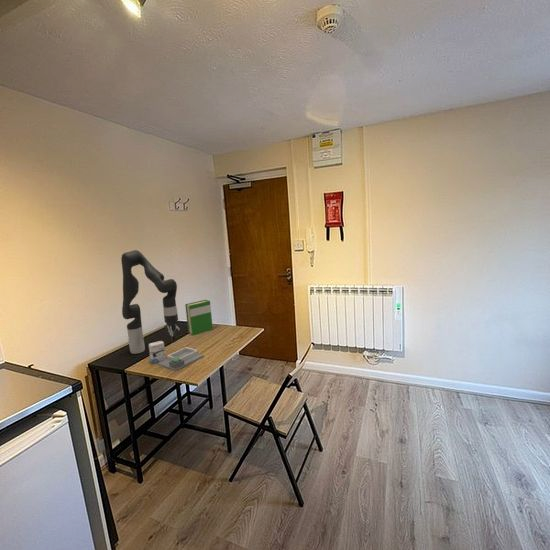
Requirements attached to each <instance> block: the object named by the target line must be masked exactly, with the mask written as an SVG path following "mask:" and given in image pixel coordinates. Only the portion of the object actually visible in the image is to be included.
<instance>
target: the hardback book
mask: <svg viewBox="0 0 550 550" xmlns="http://www.w3.org/2000/svg"><path fill="white" fill-rule="evenodd" d="M184 307H185V314H186V324H187V331H188V332H187V333H188V334H191V336H196V335H200V334H203V333H206V331H207V332H210V331H213V330H214V327H213V318H212V306H211V301H210V300H207V299H202V300H198V301H193V302H189V303H185V305H184ZM212 329H213V330H212Z"/></svg>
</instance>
